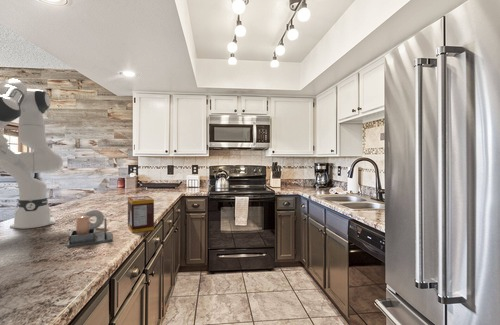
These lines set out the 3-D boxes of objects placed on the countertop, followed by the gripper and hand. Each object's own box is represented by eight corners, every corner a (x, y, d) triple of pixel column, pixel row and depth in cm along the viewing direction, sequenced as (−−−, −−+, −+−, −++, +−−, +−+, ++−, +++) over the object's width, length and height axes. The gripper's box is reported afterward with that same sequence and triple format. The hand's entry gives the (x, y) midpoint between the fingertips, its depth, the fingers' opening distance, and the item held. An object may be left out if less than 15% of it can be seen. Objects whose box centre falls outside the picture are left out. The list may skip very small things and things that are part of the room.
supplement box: (147, 223, 144) (147, 195, 144) (154, 230, 131) (154, 199, 131) (127, 226, 139) (127, 196, 138) (131, 233, 126) (131, 200, 125)
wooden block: (76, 238, 114) (76, 216, 114) (89, 236, 116) (89, 215, 116) (75, 241, 110) (75, 218, 110) (89, 239, 112) (89, 217, 112)
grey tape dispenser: (70, 238, 116) (70, 220, 116) (111, 233, 124) (111, 217, 124) (67, 247, 105) (67, 227, 105) (112, 241, 113) (112, 223, 113)
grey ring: (81, 231, 128) (81, 211, 128) (80, 230, 131) (80, 210, 130) (104, 228, 134) (104, 208, 134) (103, 226, 137) (103, 207, 137)
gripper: (2, 138, 93) (37, 165, 100) (1, 140, 108) (32, 164, 115) (-16, 150, 90) (22, 177, 97) (-14, 151, 105) (18, 174, 112)
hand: (27, 170), depth 106 cm, fingers open, 8 cm apart
